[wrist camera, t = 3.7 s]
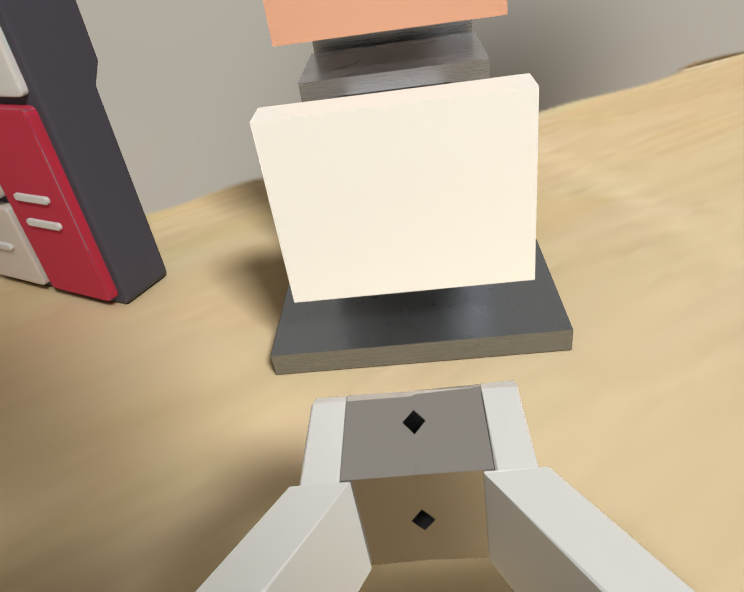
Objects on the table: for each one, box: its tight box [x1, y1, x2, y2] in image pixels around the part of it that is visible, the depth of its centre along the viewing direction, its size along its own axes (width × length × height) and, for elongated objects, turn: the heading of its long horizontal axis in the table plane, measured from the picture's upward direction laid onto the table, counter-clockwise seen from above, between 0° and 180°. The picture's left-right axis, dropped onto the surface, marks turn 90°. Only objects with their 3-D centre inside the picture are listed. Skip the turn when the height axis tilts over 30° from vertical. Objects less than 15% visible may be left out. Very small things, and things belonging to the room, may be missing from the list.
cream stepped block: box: [250, 73, 539, 303], centre depth 24 cm, size 9×8×7 cm
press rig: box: [271, 19, 573, 375], centre depth 27 cm, size 12×17×18 cm
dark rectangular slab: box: [0, 0, 166, 303], centre depth 31 cm, size 11×4×15 cm, turn 62°
